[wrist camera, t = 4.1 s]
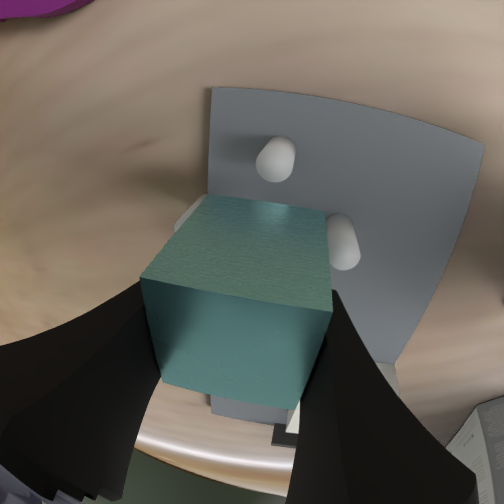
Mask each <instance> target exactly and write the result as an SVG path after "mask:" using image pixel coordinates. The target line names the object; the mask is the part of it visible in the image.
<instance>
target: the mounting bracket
mask: <svg viewBox="0 0 504 504" xmlns="http://www.w3.org/2000/svg"><path fill="white" fill-rule="evenodd" d="M91 1H93V0H0V22H5V19H12V18H42V17H52V16H57V15H62V14H65V13H68V12H71V11H73V10H75V9H78V8H80V7H82V6H84V5H86V4H88V3H89V2H91Z"/></svg>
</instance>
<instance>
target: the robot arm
mask: <svg viewBox="0 0 504 504" xmlns="http://www.w3.org/2000/svg"><path fill="white" fill-rule="evenodd" d="M332 304H333V313H332V316H331V319H330V322H329V325H328V328H327V331H326V333H325V336H324V339H323V342H322V344H321V347H320V350H319V352H318V355H317V358H316V360H315V363H314V366H313V368H312V371H311V373H310V376H309V378H308V381H307V383H306V386H305V388H304V391H303V393H302V395H301V398H300V414H299V431H298V439H297V445H296V452H295V458H294V463H293V469H292V474H291V479H290V484H289V489H288V494H287V498H286V503H285V504H479V495H478V486H477V478H476V474H475V473H474V472H473V471H472V470H470V469H469V468H468V467H467V466H466V465H464V464H463V463H462V462H461V461H460V460H458V459H457V458H456V457H455V456H454V455H452V454H451V453H450V452H449V451H448V450H447V449H446V448H445V447H444V446H443V445H442V444H440V443H439V442H438V441H437V440H436V439H435V438H434V437H433V436H432V435H431V434H430V433H429V432H428V430H427V429H426V428H425V427H424V426H423V425H422V424H421V423H420V422H419V420H418V419H417V418H416V417H415V416H414V415H413V414H412V412H411V411H410V410H409V409H408V408H407V407H406V405H405V404H404V403H403V402H402V400H401V399H400V398H399V397H398V395H397V394H396V393H395V391H394V390H393V388H392V387H391V386H390V384H389V383H388V382H387V380H386V379H385V377H384V376H383V374H382V373H381V371H380V370H379V368H378V366H377V365H376V363H375V361H374V360H373V358H372V357H371V355H370V353H369V352H368V350H367V348H366V346H365V345H364V343H363V341H362V339H361V337H360V336H359V334H358V332H357V330H356V328H355V326H354V324H353V323H352V321H351V319H350V317H349V315H348V313H347V311H346V309H345V306H344V304H343V302H342V300H341V298H340V296H339V294H338V292H337V291H336V290H333V289H332ZM160 378H161V374H160V370H159V366H158V363H157V359H156V355H155V350H154V346H153V342H152V338H151V333H150V329H149V324H148V319H147V315H146V310H145V305H144V299H143V294H142V289H141V283H140V281H138V282H137V283H135V284H134V285H132V286H131V287H129V288H127V289H126V290H124V291H123V292H121V293H120V294H118V295H116V296H114V297H113V298H111V299H109V300H108V301H106V302H104V303H103V304H101V305H99V306H98V307H96V308H94V309H92V310H91V311H89V312H87V313H85V314H83V315H81V316H79V317H77V318H75V319H73V320H71V321H69V322H67V323H64V324H62V325H60V326H57V327H55V328H52V329H50V330H47V331H45V332H42V333H40V334H37V335H35V336H32V337H29V338H26V339H23V340H20V341H16V342H13V343H9V344H6V345H2V346H0V504H42V501H44V502H45V503H46V504H84V503H82V500H83V498H84V496H86V497H88V498H90V499H92V500H96V498H97V495H99V496H101V497H103V498H106V499H108V500H110V501H116V500H119V499H121V498H122V494H123V489H124V484H125V479H126V475H127V470H128V466H129V462H130V459H131V455H132V451H133V448H134V444H135V441H136V438H137V435H138V432H139V429H140V426H141V423H142V420H143V417H144V414H145V411H146V408H147V406H148V403H149V400H150V398H151V396H152V394H153V391H154V389H155V387H156V385H157V383H158V381H159V379H160ZM41 500H42V501H41Z"/></svg>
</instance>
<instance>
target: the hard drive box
mask: <svg viewBox="0 0 504 504" xmlns="http://www.w3.org/2000/svg"><path fill="white" fill-rule="evenodd" d="M446 449H447V450H448V451H449V452H450V453H451V454H452V455H454V456H455V457H456V458H457V459H458V460H460V461H461V462H462V463H463V464H464V465H466V466H467V467H468V468H469V469H470V470H472V471H473V472H474V473H475V474H476V478H477V486H478V495H479V504H504V396H503V397H500V398H497V399H494V400H491V401H488V402H485V403H482V404H478V405H477V406H476V408H475V409H474V411H473V412H472V414H471V415H470V416H469V418H468V419H467V420H466V422H465V423H464V425H463V426H462V428H461V429H460V430H459V432H458V433H457V434H456V435H455V437H454V438H453V439H452V441H451V442H449V444H448V445H447V446H446Z"/></svg>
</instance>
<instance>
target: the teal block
mask: <svg viewBox="0 0 504 504" xmlns="http://www.w3.org/2000/svg"><path fill="white" fill-rule="evenodd" d="M140 283H141V289H142V294H143V299H144V305H145V310H146V315H147V319H148V324H149V329H150V333H151V338H152V342H153V346H154V350H155V355H156V359H157V363H158V366H159V370H160V374H161V378H162V381H163V382H164V383H167V384H171V385H174V386H178V387H182V388H185V389H189V390H193V391H197V392H201V393H205V394H209V395H214V396H218V397H223V398H227V399H232V400H237V401H242V402H247V403H253V404H258V405H264V406H270V407H277V408H284V409H291V410H295V409H296V407H297V405H298V402H299V400H300V398H301V395H302V393H303V391H304V388H305V386H306V383H307V381H308V378H309V376H310V373H311V371H312V368H313V366H314V363H315V360H316V358H317V355H318V352H319V350H320V347H321V344H322V342H323V339H324V336H325V333H326V331H327V328H328V325H329V322H330V319H331V316H332V313H333V304H332V288H331V274H330V261H329V250H328V239H327V229H326V220H325V211H323V210H317V209H311V208H305V207H299V206H292V205H286V204H279V203H273V202H266V201H259V200H252V199H244V198H237V197H229V196H221V195H213V194H208V195H207V196H206V198H205V199H204V200H203V201H202V202H201V203H200V204H199V206H198V207H197V208H196V209H195V210H194V211H193V212H192V214H191V215H190V216H189V217H188V218H187V219H186V221H185V222H184V223H183V224H182V225H181V226H180V228H179V229H178V230H177V231H176V232H175V234H174V235H173V236H172V237H171V238H170V240H169V241H168V242H167V243H166V244H165V246H164V247H163V248H162V249H161V251H160V252H159V253H158V254H157V255H156V257H155V258H154V259H153V260H152V262H151V263H150V264H149V265H148V267H147V268H146V269H145V270H144V272H143V273H142V274H141V276H140Z"/></svg>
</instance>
